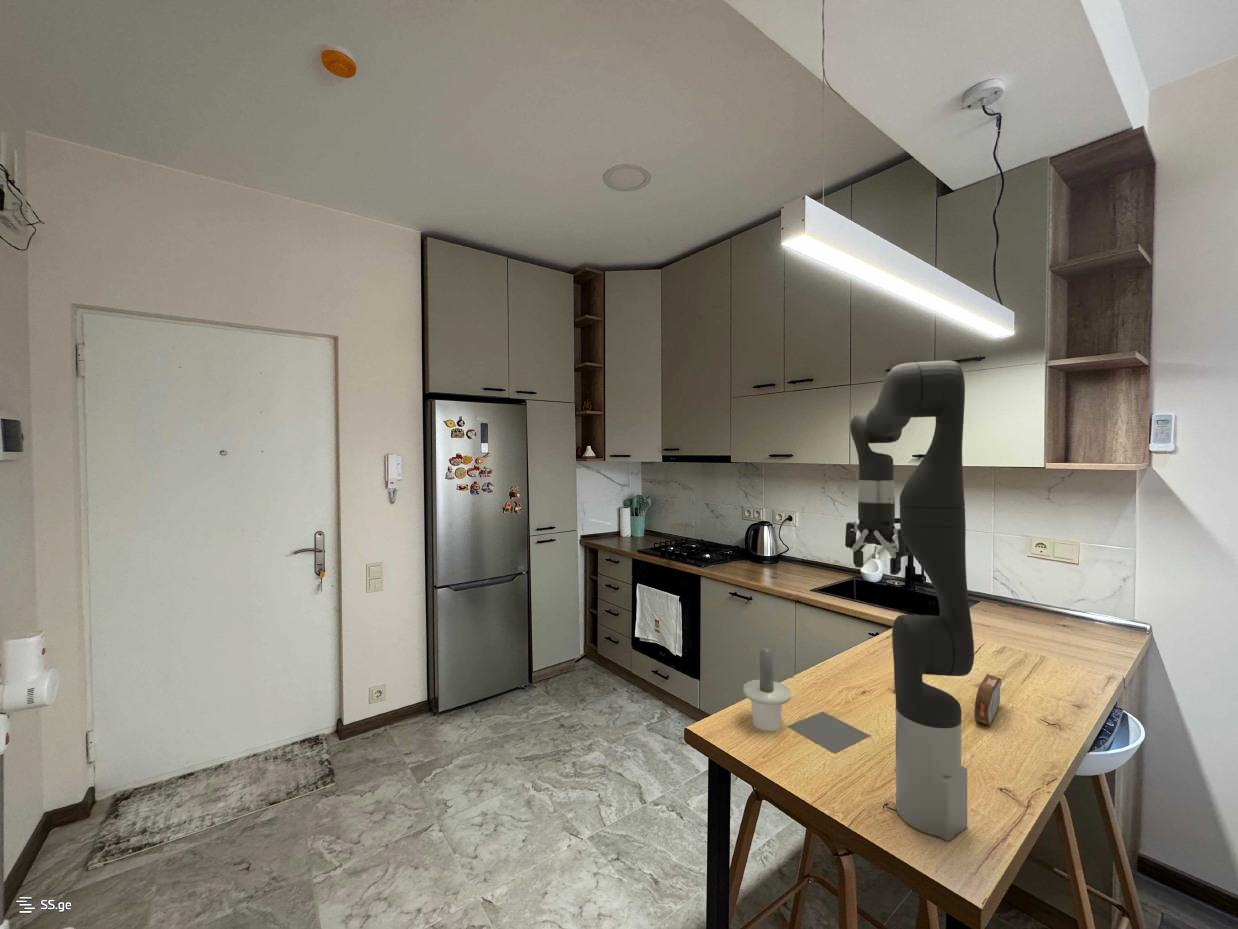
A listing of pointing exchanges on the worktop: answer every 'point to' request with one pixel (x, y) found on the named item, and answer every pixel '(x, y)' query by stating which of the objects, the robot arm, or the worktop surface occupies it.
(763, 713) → the light grey cylinder
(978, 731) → the worktop surface
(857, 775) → the worktop surface
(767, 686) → the peg on round base
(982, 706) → the tin
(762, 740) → the worktop surface
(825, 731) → the mat
